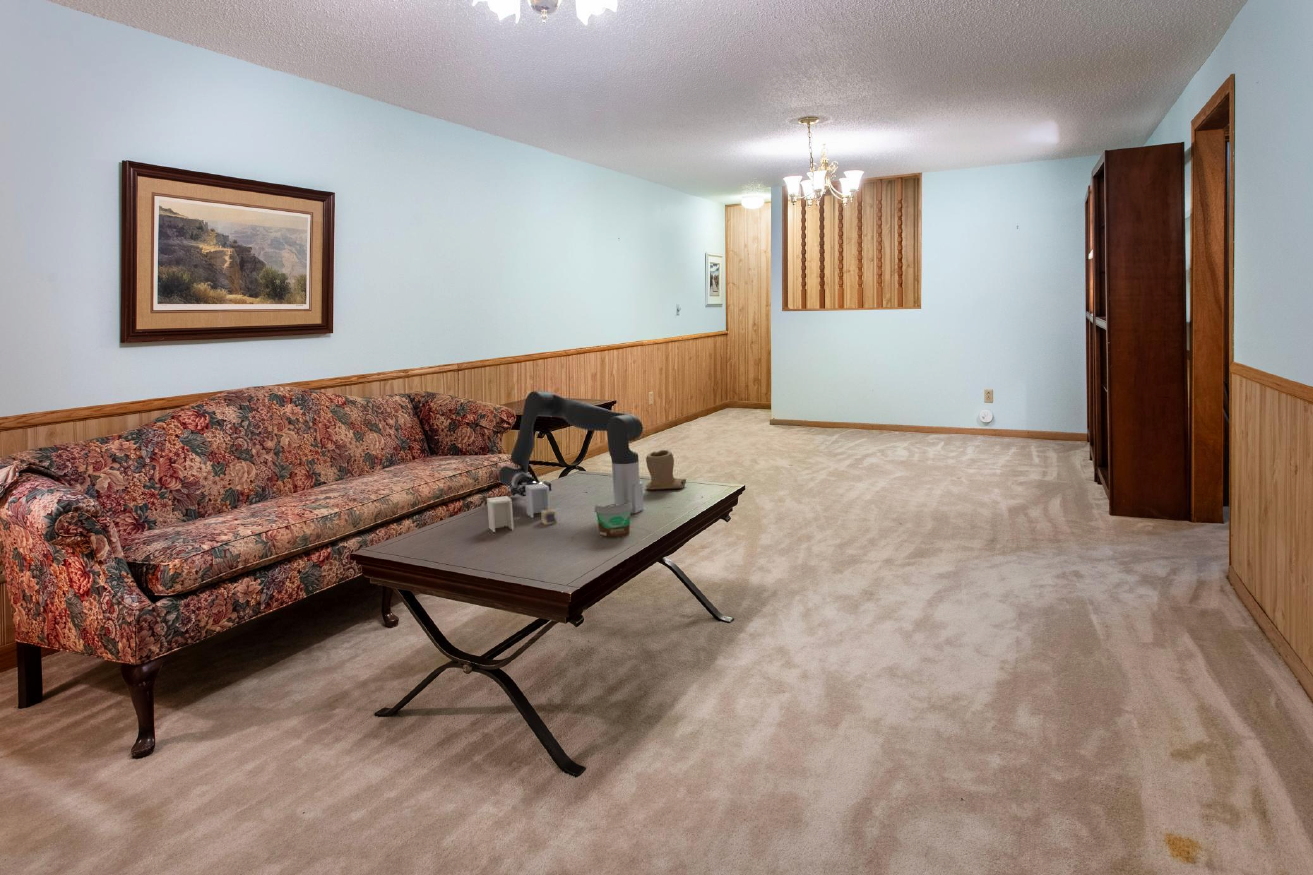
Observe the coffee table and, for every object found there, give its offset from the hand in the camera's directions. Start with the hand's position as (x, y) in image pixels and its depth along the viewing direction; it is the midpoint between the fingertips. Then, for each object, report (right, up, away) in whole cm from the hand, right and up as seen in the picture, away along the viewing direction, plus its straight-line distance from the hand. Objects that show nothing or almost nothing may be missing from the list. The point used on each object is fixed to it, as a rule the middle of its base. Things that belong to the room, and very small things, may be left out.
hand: (535, 492), depth 294 cm
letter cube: (+6, -9, -13) cm, 17 cm away
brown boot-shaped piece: (+46, -1, +31) cm, 55 cm away
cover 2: (+1, -8, -1) cm, 8 cm away
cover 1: (-8, -11, -19) cm, 23 cm away
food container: (+30, -12, -34) cm, 47 cm away
